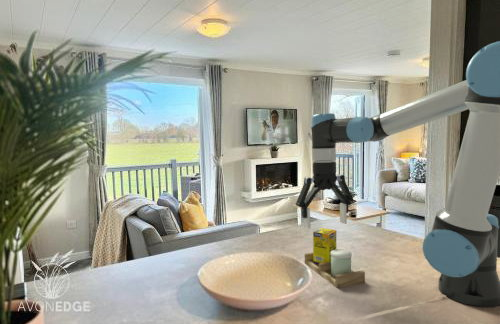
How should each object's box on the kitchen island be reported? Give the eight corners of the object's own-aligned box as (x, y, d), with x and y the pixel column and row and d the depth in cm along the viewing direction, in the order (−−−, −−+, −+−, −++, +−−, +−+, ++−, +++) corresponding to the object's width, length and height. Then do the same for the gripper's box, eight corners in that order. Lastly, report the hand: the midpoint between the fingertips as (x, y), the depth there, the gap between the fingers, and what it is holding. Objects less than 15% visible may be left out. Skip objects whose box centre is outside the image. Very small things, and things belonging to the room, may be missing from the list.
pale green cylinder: (355, 280, 101) (355, 254, 101) (338, 283, 99) (337, 257, 99) (343, 272, 107) (343, 248, 107) (326, 275, 105) (326, 250, 105)
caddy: (364, 284, 100) (364, 271, 100) (337, 289, 97) (337, 276, 97) (328, 261, 119) (328, 250, 119) (304, 264, 116) (304, 253, 116)
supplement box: (329, 267, 108) (329, 234, 107) (312, 263, 112) (312, 231, 111) (337, 261, 113) (336, 230, 112) (320, 258, 116) (320, 227, 116)
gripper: (349, 158, 117) (351, 218, 118) (284, 162, 109) (286, 226, 110) (363, 159, 110) (364, 223, 111) (294, 164, 102) (296, 232, 103)
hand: (325, 225), depth 111 cm, fingers open, 13 cm apart
